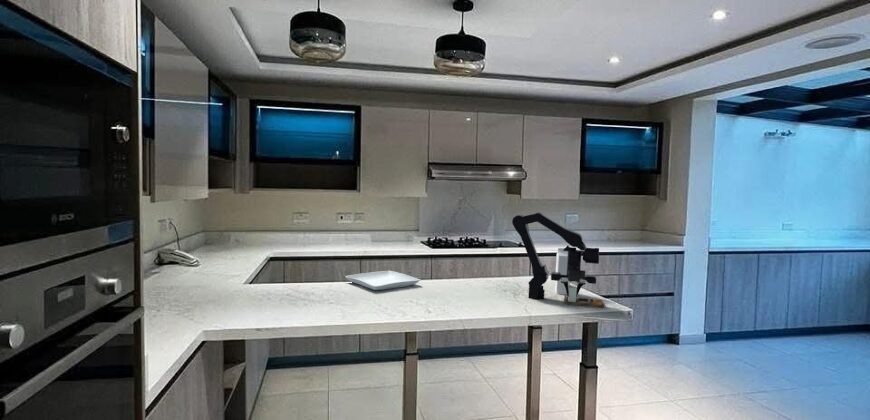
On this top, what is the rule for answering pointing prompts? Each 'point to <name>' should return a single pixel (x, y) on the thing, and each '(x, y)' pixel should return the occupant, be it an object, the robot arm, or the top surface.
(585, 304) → the rack
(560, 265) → the milk
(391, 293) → the top surface
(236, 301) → the top surface
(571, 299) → the block
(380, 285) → the square plate
